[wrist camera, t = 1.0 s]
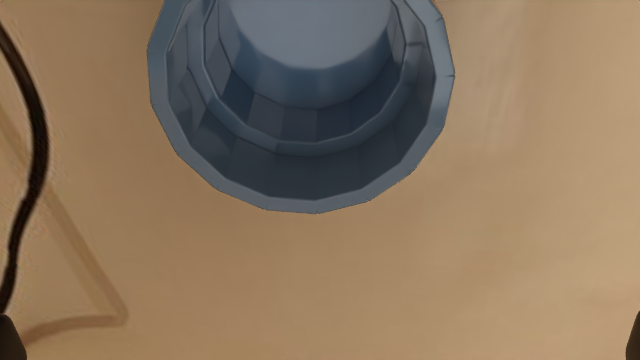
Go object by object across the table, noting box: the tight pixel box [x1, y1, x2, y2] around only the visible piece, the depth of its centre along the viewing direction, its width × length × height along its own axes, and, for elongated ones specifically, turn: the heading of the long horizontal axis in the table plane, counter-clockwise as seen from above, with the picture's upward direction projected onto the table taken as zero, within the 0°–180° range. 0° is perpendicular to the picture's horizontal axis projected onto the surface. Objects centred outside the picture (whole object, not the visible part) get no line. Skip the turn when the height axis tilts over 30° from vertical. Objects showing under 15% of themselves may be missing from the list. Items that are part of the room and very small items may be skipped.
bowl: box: [147, 0, 455, 214], centre depth 16 cm, size 7×7×5 cm
